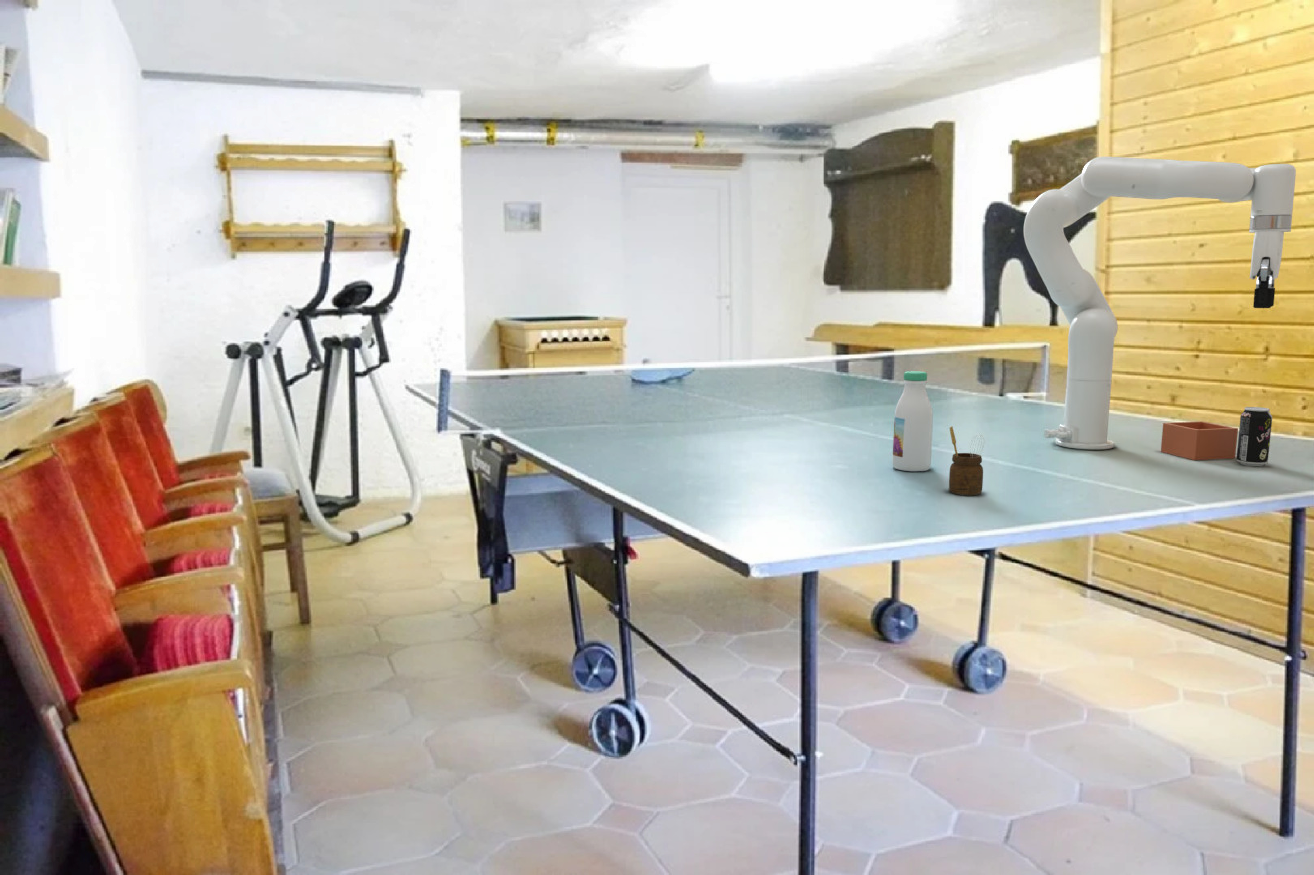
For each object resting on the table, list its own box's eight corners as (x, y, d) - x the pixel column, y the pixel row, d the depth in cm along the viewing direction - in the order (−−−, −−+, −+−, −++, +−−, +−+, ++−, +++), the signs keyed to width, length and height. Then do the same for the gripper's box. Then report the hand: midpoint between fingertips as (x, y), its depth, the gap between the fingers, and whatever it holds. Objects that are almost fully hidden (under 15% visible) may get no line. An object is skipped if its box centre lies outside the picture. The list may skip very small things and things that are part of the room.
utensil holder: (977, 497, 183) (981, 431, 181) (942, 493, 186) (945, 428, 184) (986, 491, 188) (989, 427, 186) (952, 487, 191) (955, 424, 189)
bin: (1194, 460, 218) (1197, 430, 217) (1160, 451, 228) (1163, 422, 227) (1235, 458, 220) (1238, 428, 219) (1200, 449, 230) (1202, 421, 229)
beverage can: (1267, 463, 214) (1273, 407, 212) (1266, 468, 210) (1272, 410, 208) (1236, 460, 217) (1242, 405, 215) (1235, 465, 213) (1240, 408, 211)
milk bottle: (933, 466, 211) (938, 371, 208) (926, 473, 204) (931, 374, 201) (896, 463, 214) (900, 369, 211) (888, 470, 207) (892, 372, 204)
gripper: (1252, 227, 222) (1246, 305, 224) (1246, 224, 208) (1239, 308, 210) (1292, 225, 218) (1285, 306, 220) (1289, 223, 203) (1282, 308, 206)
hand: (1263, 307), depth 215 cm, fingers open, 9 cm apart
